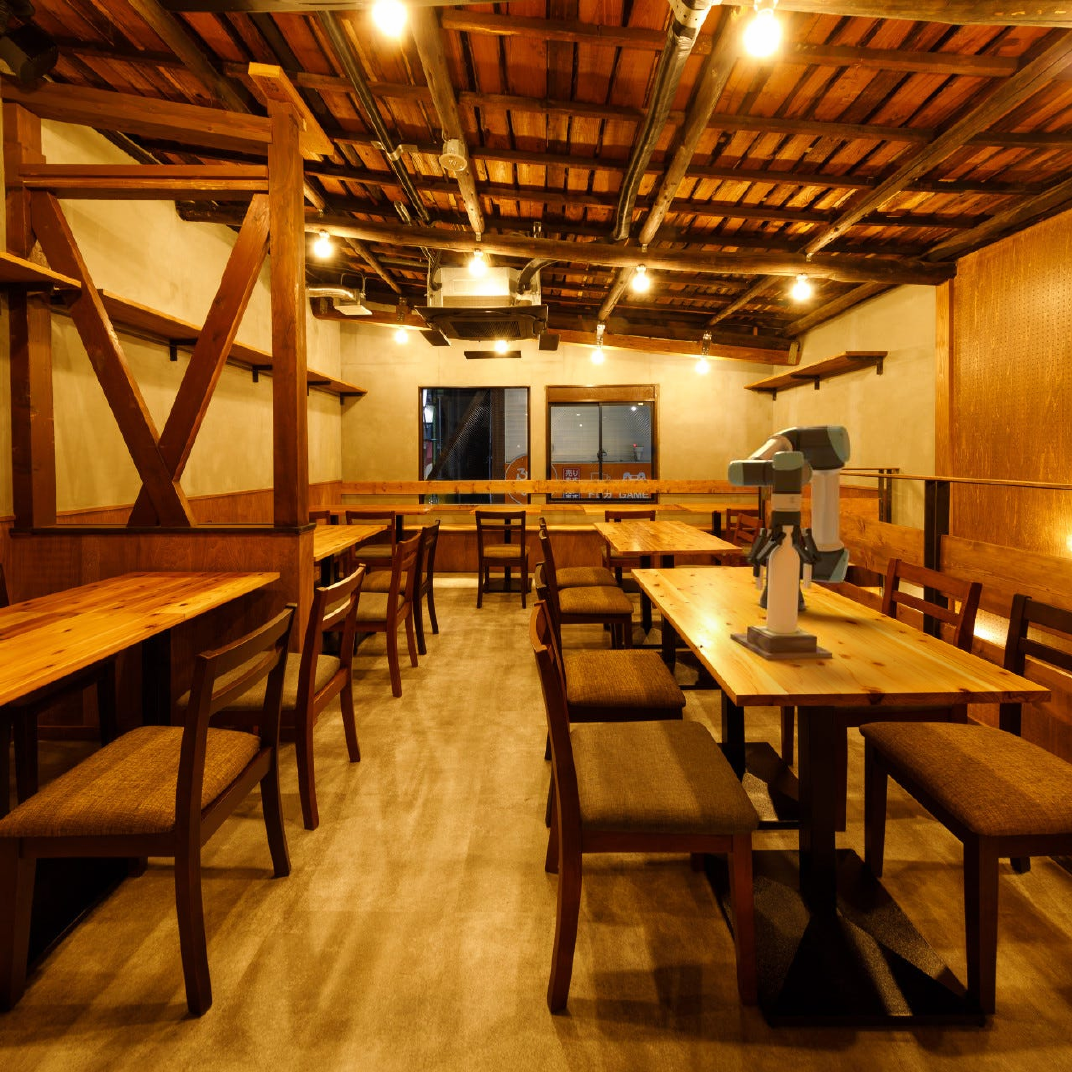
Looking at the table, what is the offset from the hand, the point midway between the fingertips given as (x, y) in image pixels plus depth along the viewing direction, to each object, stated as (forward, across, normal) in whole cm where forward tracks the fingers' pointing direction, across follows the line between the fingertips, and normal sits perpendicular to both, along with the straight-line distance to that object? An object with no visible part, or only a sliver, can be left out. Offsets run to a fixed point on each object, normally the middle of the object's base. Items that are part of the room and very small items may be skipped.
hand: (782, 588), depth 170 cm
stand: (+17, +1, +3) cm, 17 cm away
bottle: (+12, 0, 0) cm, 12 cm away
